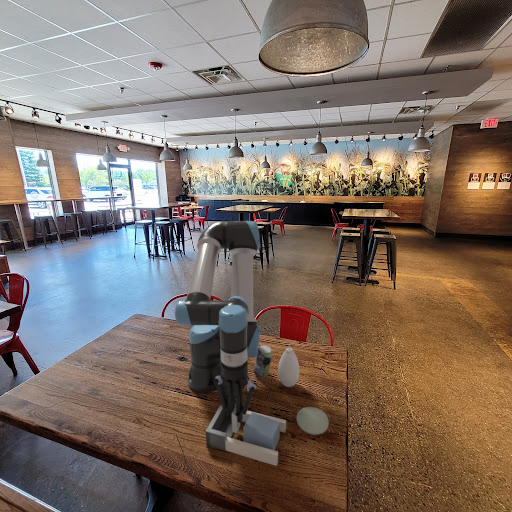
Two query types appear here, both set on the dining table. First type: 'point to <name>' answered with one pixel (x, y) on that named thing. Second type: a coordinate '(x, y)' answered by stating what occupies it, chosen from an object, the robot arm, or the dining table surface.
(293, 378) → the sauce bottle
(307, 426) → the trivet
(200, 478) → the dining table surface
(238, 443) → the channel
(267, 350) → the beverage can
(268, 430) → the painted block
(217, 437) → the bin
